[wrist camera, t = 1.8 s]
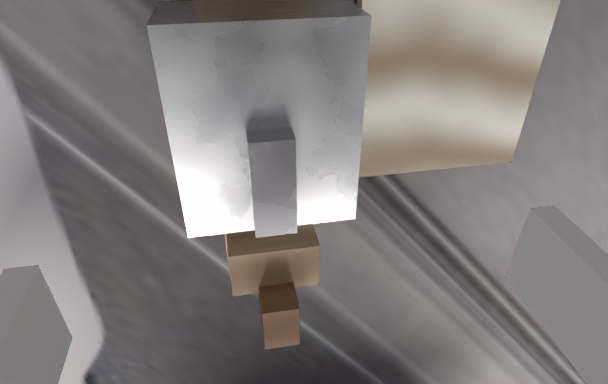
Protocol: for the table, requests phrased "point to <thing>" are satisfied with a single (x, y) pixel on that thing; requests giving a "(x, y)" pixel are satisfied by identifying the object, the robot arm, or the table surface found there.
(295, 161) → the white block with stub
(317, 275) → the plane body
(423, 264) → the table surface
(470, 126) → the ash board
